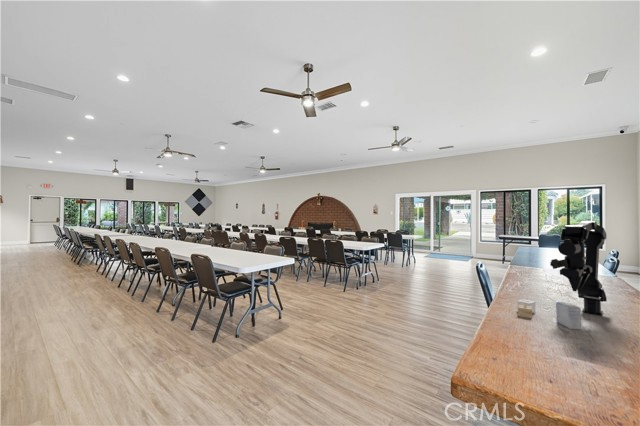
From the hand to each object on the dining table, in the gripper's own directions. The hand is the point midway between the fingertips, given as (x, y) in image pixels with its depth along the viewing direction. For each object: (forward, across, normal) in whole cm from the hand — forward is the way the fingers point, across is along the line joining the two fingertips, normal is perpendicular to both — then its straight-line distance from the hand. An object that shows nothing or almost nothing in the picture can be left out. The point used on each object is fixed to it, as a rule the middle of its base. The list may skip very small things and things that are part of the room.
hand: (577, 290), depth 120 cm
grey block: (+13, +5, -17) cm, 22 cm away
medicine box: (+13, +11, 0) cm, 17 cm away
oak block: (+13, +11, -15) cm, 23 cm away
